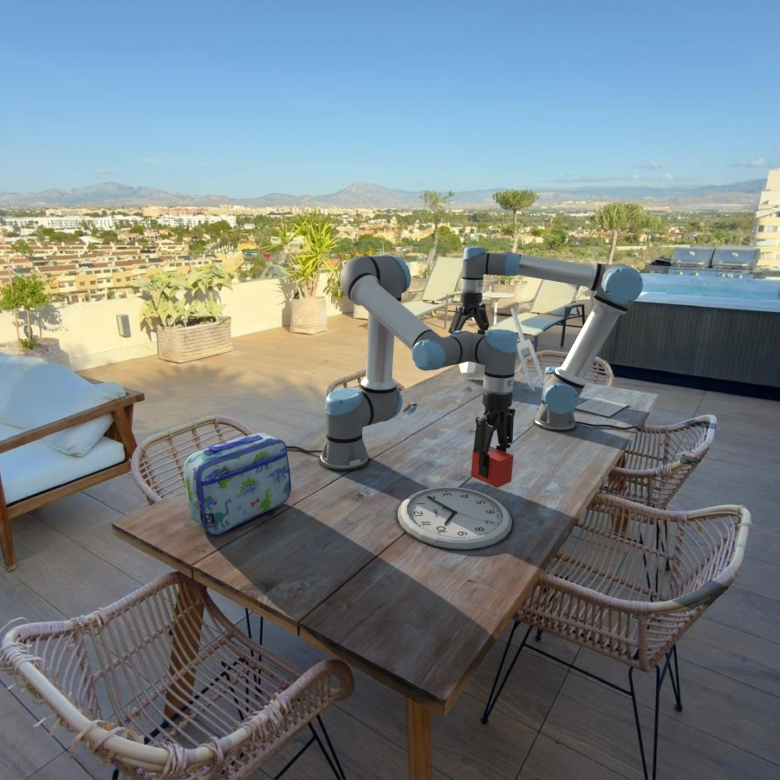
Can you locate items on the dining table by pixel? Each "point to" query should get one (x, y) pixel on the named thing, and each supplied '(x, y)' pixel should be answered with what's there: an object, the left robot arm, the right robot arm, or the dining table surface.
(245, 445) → the lunch box
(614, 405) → the invitation card
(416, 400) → the fork
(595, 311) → the right robot arm
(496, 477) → the block
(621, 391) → the dining table surface
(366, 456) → the left robot arm
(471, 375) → the white plastic object
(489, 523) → the wall clock
